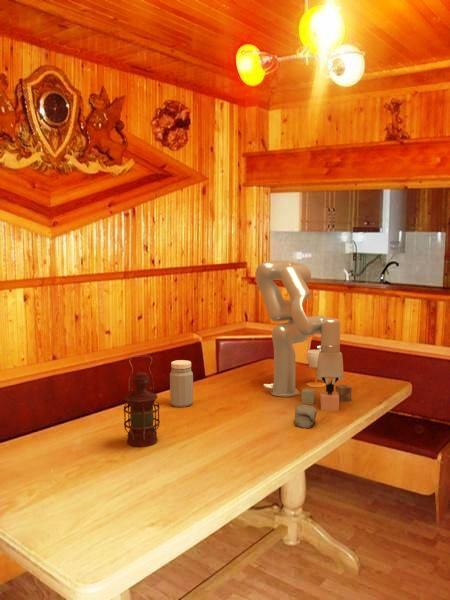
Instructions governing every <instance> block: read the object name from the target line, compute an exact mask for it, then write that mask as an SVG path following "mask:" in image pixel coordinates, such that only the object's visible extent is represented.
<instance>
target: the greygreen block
mask: <svg viewBox="0 0 450 600" xmlns="http://www.w3.org/2000/svg"><path fill="white" fill-rule="evenodd" d="M315 402H316V389H315V388H302V391H301V404H308V403H309V404H310V405H314V403H315Z"/></svg>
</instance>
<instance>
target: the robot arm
mask: <svg viewBox="0 0 450 600" xmlns="http://www.w3.org/2000/svg"><path fill="white" fill-rule="evenodd" d="M254 277H255V282H256V285H257V287H258V289H259V291H260V293H261V296H262V299H263V301H264V305H265V308H266V309H265V310H266V311H267V313H268V317H269V319H270V320H271V321H272V322H277V323H278V322H282V323H279V324H276V325H275V326H273V328H272V330H271V339H272V344H273V345H272V346H273V382H271V383H263V388H264V389H267V390H269V392H270V394H271V395H272V396H275V397H279V398H280V397H282V398H288V397H289V398H292V397H295V396H298V395H299V393H300V392H299V390H298V389H297V388H296V361H297V360H296V359H297V358H296V351H295V348H294V347H293V345H294V344H299V343H300V344H301V343H304V342H306V341H307V340H308V338H309V336H315V335H320V345H317V346H316V347H317V349H316V350H321V351H320V352H319V356H318V366H317V380H321V381H323V383H324V384H326V386H325V392H328V394H332V392H335V391H334V390H335V383H337V382H338V381H341V380H344V359H343V353H342V352H341V344H340V343H341V321H340V319H338V318H335V317H328V316H325V315H316V316H315V315H313V316H307V314H306V313H305V311H304V308H303V303H305V302H306V301H307V300H308V299H309V298H310V297H311V290H310V289H309V287H308V285H307V283H309V281H310V280H311V277H312V274H311V270H310V269H309V267H308V266H306V265H305V264H302V263H298V262H294V261H290V260H269V261H263V262H260V264H258V266H257V268H256V269H255V276H254ZM275 280H276V281H278V280H281V282H282V284H283V286H284V288H285V290H286V292H287V294H288V295H289V297H290V299H289V298H288V299H284V296H283V295H282V291H281V288H280V287H279V286H278V285H277V284H276V283H275V282H274V281H275ZM329 378H331V380H330V381H329Z"/></svg>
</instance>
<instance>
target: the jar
mask: <svg viewBox="0 0 450 600" xmlns="http://www.w3.org/2000/svg"><path fill="white" fill-rule="evenodd" d="M170 366H171V371H170V372H169V387H170V388H169V402H170V404H171V405H172V406H173V407H175V408H186V407H190V406H192V404H193V403H194V373H193V371H192V362H191V360H185V359H179V360H178V359H177V360H174V361H171V365H170Z"/></svg>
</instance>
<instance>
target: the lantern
mask: <svg viewBox="0 0 450 600" xmlns="http://www.w3.org/2000/svg"><path fill="white" fill-rule="evenodd" d="M140 357H141V358H142V357H147V358H150V363H149V365H148V371H149V374H150V375H151V377H152V385H150V387H149V389H150V390H151V391H149V390H147V386H149V384H150V381H151V380H150V378H149V375H148V374H147V373H146V372H145V371H143V372H142V371H138V372H136V373H135V375H134V377H133V379H132V383H133V386H134V387H136V390H135V391H134V392H133V387H131V382H130V381H131V377H132V375H133V372H134V368H133V365H132V362H131V361H132V359H134V358H140ZM128 362H129V365H130V366H131V373H130V375H129V377H128V392H129V394H127V395H126V396H125V401H127V402H126V403H125V405H124V406H123V415H124V416H123V419H124V421H123V422H124V423H123V425H124V427H123V428H124V430H125V432H126V433H127V440H126V443H127V445H129V446H131V447H135V448H144V447H145V448H146V447H151V446H154V445H156V444H157V443H158V440H159V439H158V436H157V435H158V432H157V430H158V429H159V427H160V424H161V421H160V404H159V402H158V401H157V399H158V395H157V394H156V393H155V392H153V391H154V390H155V379H154V375H153V373H152V372H151V369H150V367H151V365H152V362H153V358H152V357H151V356H150V355H147V354H146V355H145V354H144V355H134V356H131V357H129V360H128ZM130 389H131V390H130ZM155 402H156V403H155ZM126 414H128V415H127V417H128V418H126ZM126 419H127V420H126ZM127 423H128V425H127ZM127 429H129V430H127Z"/></svg>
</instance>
